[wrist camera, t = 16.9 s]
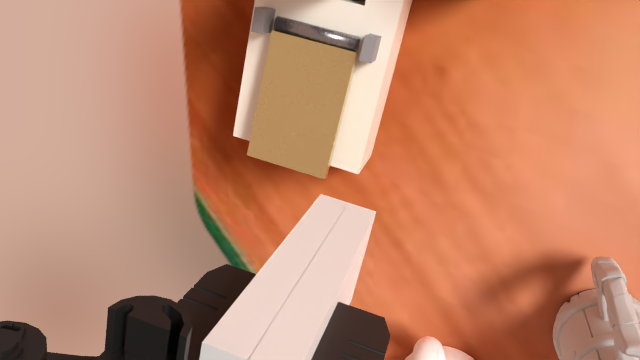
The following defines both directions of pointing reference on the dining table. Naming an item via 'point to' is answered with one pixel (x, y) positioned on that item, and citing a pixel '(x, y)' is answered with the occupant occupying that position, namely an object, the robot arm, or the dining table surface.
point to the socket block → (369, 74)
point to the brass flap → (303, 96)
